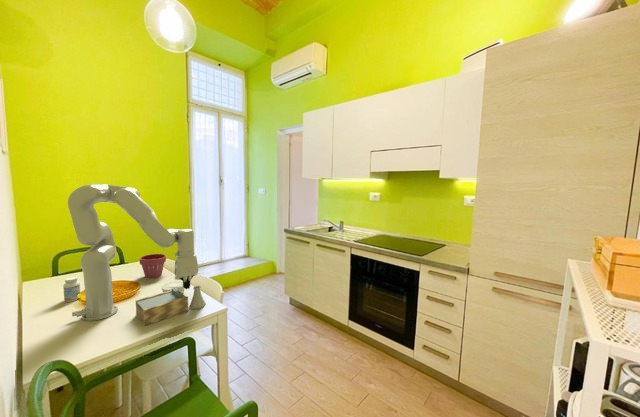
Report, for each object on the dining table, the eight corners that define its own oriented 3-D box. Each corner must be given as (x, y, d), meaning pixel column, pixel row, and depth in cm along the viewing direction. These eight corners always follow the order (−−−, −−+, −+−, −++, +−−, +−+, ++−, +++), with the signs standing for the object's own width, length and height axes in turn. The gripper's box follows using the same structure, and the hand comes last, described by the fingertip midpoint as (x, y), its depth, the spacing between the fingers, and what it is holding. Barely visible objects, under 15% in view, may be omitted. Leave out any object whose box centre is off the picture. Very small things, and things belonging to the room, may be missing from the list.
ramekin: (164, 301, 134) (163, 291, 133) (160, 293, 142) (159, 284, 142) (187, 295, 141) (187, 286, 141) (182, 288, 150) (182, 279, 149)
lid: (143, 311, 111) (143, 305, 111) (137, 303, 118) (136, 297, 118) (186, 298, 124) (186, 292, 124) (178, 291, 131) (178, 286, 131)
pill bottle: (61, 301, 130) (59, 279, 129) (75, 296, 136) (74, 275, 135) (69, 303, 129) (67, 281, 127) (83, 297, 134) (82, 277, 133)
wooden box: (144, 326, 111) (144, 310, 110) (136, 315, 119) (135, 300, 119) (188, 311, 124) (188, 296, 123) (177, 302, 133) (177, 288, 132)
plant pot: (170, 271, 175) (170, 253, 174) (159, 279, 161) (158, 259, 160) (148, 271, 174) (148, 253, 173) (135, 279, 160) (134, 259, 159)
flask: (199, 310, 125) (198, 290, 124) (186, 308, 127) (185, 289, 126) (208, 303, 132) (208, 285, 131) (195, 301, 134) (195, 283, 133)
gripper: (172, 258, 122) (173, 294, 124) (203, 252, 134) (204, 286, 136) (166, 254, 127) (168, 290, 129) (197, 249, 139) (198, 282, 140)
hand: (186, 288), depth 132 cm, fingers closed
